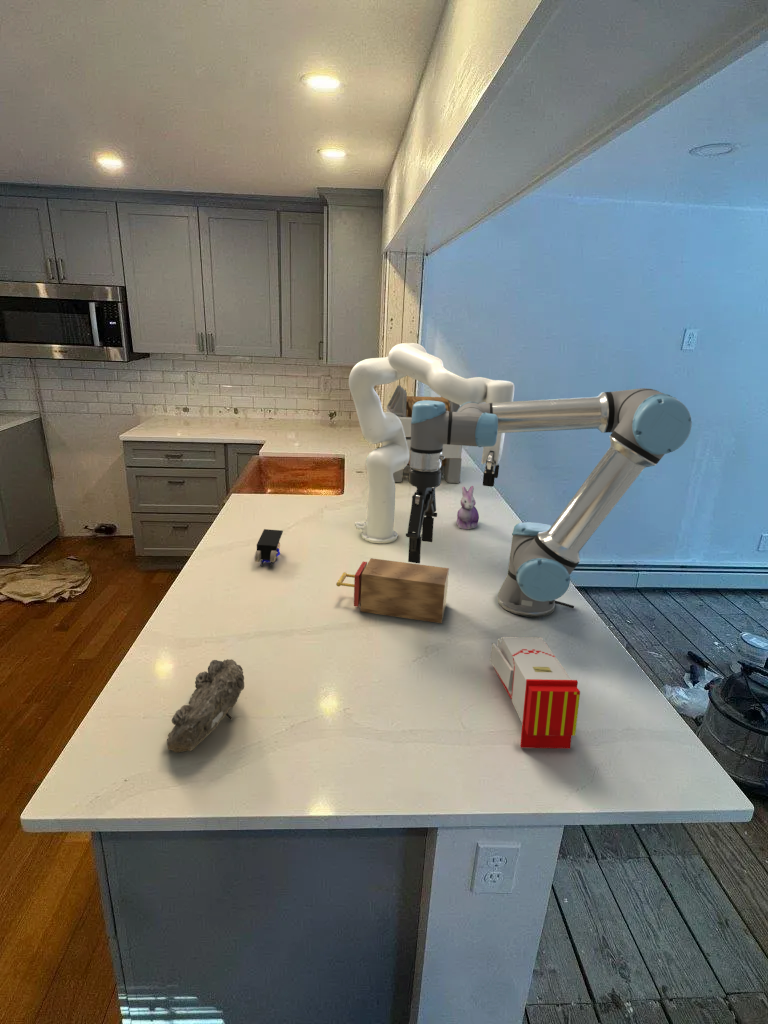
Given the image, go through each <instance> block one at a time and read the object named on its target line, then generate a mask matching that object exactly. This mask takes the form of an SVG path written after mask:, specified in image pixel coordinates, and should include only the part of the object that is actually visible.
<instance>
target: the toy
mask: <svg viewBox="0 0 768 1024" xmlns="http://www.w3.org/2000/svg"><path fill="white" fill-rule="evenodd" d="M489 658H490V659H489V662H490V663H491V665H492V666H493V669H494V671H495V673H496V675H497V677H498V679H499V680H500V682H501V684H502V686H503V687H504V689H505V691H506V693H507V695H508V697H509V699H510V700H511V703H512V705H513V707H514V709H515V712H516V713H517V716H518V718H519V720H520V722H521V735H520V748H521V749H571V746H572V745H571V744H572V737H574V736H575V737H576V733H577V732H576V731H577V723H578V715H579V705H580V697H581V691H580V688H578V683H579V681H578V680H577V679H572V678H571V677H570V675H569V674H568V673H567V671H566V670H565V668H564V667H563V665H562V664H561V662H560V661H559V660H558V659H557V657H556V656H555V654H554V652H553V651H552V650H551V648H550V647H549V645H548V643H547V642H545V640H544V639H543V637H540V636H539V637H536V636H535V637H534V636H526V637H525V636H501V638H500V637H498V638H497V643H496V642H492V643H491V649H490V657H489Z"/></svg>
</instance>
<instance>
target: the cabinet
mask: <svg viewBox="0 0 768 1024" xmlns="http://www.w3.org/2000/svg"><path fill="white" fill-rule="evenodd" d="M449 573H450V568H449V567H442V566H436V565H435V566H434V565H427V564H420V563H412V562H403V561H395V560H387V559H380V558H373V557H372V558H371V557H370V558H369V560H368V561H367V566H366V567H365V569H364V571H363V573H362V581H361V602H360V613H361V612H362V613H368V614H374V615H375V614H376V615H382V616H387V617H395V618H402V619H409V620H417V621H423V622H430V623H436V624H442V623H443V618H444V615H445V610H446V606H447V596H448V586H449V585H448V584H449Z"/></svg>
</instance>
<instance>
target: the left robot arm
mask: <svg viewBox="0 0 768 1024" xmlns="http://www.w3.org/2000/svg"><path fill="white" fill-rule="evenodd" d="M406 377H409V378H412V379H413V380H415V381H418V382H420V383H421V384H423V385H426V386H428V387H429V388H430V390H431V391H433V392H434V393H435V394H436V395H438V396H439V397H443V398H445V399H448V400H450V401H452V402H454V403H456V404H459V405H460V406H461V405H462V404H464V403H466V402H476V403H478V404H479V403H496V402H514V398H515V397H514V395H515V384H514V382H512V381H509V380H502V379H491V378H488V377H483V376H474V377H469V378H465V377H463V376H460V375H458V374H456V373H454V372H451V371H449V370H448V369H446V368H445V366H444V362H443V360H442V359H441V358H440V357H437V356H436V355H433V354H430V353H428V352H427V349H426V348H425V347H424V346H423V345H421V344H419V343H417V342H403V343H397V344H396V345H394V346H392V348H391V349H390V350H389V352H388V355H387V356H384V357H370V358H365V359H363V360H360V361H358V362H357V363H356V364H354V366H353V367H352V369H351V370H350V372H349V376H348V388H349V391H350V395H351V397H352V402H353V403H354V407H355V411H356V416H357V419H358V424H359V428H360V431H361V434H362V438H363V440H364V441H365V442H366V443H367V444H370V445H377V444H381V445H382V446H379V447H377V448H374V449H373V450H371V451H370V452H369V453H368V454H367V455H366V459H365V463H364V465H365V471H366V480H367V481H366V482H367V483H366V519H365V520H366V521H364V522H362V521H355V522H354V527H355V529H356V530H361V534H360V535H361V538H362V539H363V540H364V541H366V542H368V543H373V544H389V543H393V542H395V541H397V540H398V537H399V534H398V532H397V531H396V530H395V528H394V527H395V510H396V509H395V508H396V507H395V506H396V491H397V490H396V488H397V487H396V482H395V481H394V478H393V473H395V472H397V471H399V470H401V469H403V470H404V469H405V468H406V467H407V464H408V462H409V450H408V446H407V442H406V438H405V434H404V430H403V426H402V423H401V421H400V419H399V418H398V417H397V416H396V415H395V414H394V413H391V412H387V411H384V409H383V406H382V405H383V404H382V401H381V398H380V396H379V394H378V392H377V391H376V390H375V387H376V386H380V385H387V384H392V383H395V382H396V381H399V380H401V379H403V378H406ZM505 435H506V433H497V440H496V443H495V445H494V446H491V447H482V454H481V455H482V456H481V461H480V462H481V464H482V465H484V464H485V466H484V472H483V477H482V486H483V487H491V488H493V487H494V486H495V479H498V477H499V470H500V462H501V460H502V456H503V451H504V445H505Z"/></svg>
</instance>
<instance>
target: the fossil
mask: <svg viewBox="0 0 768 1024" xmlns="http://www.w3.org/2000/svg"><path fill="white" fill-rule="evenodd" d="M243 670H244V669H243V667H242V665H240V664H237V662H236V661H235V660H234V659H232V658H231V659H227V658H226V659H224V660H223V661H222V660H217V659H212V660H211V661H210V663H209V665H208V666H207V671H201V672H199V673H198V674H197V675H196V676H195V680H194V684H195V685H194V687H195V689H194V690H193V693H192V694H191V697H190V698H189V700H188V704H184V705H182V706H181V707H180V709H177V710H176V711H175V713H174V715H173V716H172V718H171V723H172V724H173V727H172V730H171V731H170V732H168V734H167V738H166V741H167V742H166V745H167V749H168V750H169V751H173V752H174V753H176V754H178V753H182V752H188V751H189V752H192V751H193V750H195V748H196V747H197V746H199V744H200V743H201V742H203V741H204V740H205V739H206V738H207V737H208V736H209V735H210V734H211V733H212V732H214V730H215V729H217V727H218V726H219V724H220V722H221V721H222V720H223V719H224V718H225V716H226V717H227V719H229V720H233V717H232V715H230V714H229V710H230V709H231V708H234V706H235V704H236V703H237V702H238V699H239V697H240V695H241V693H242V691H243V690H245V689H244V688H245V675H244V671H243Z"/></svg>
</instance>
